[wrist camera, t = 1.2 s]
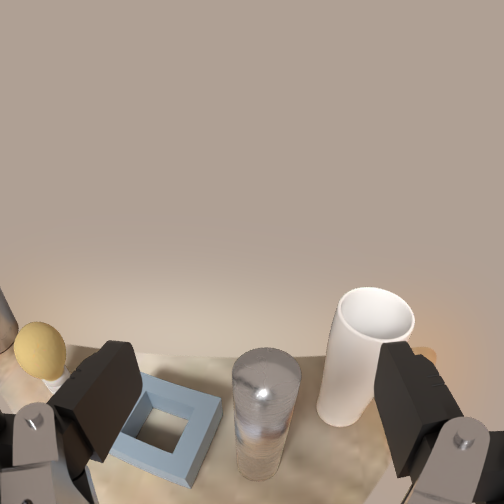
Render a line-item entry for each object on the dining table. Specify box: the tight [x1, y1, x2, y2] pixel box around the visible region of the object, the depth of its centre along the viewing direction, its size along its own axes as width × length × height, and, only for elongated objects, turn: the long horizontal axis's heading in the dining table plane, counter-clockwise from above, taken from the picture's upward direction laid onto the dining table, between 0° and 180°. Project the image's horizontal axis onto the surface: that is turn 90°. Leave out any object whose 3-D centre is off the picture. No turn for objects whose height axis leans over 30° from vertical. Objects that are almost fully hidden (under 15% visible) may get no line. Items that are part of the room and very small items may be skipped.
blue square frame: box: [109, 372, 223, 489], centre depth 27 cm, size 10×10×4 cm
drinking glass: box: [316, 287, 415, 427], centre depth 27 cm, size 7×7×15 cm
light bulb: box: [14, 322, 71, 394], centre depth 29 cm, size 6×6×10 cm
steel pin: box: [232, 348, 301, 481], centre depth 21 cm, size 4×4×16 cm
